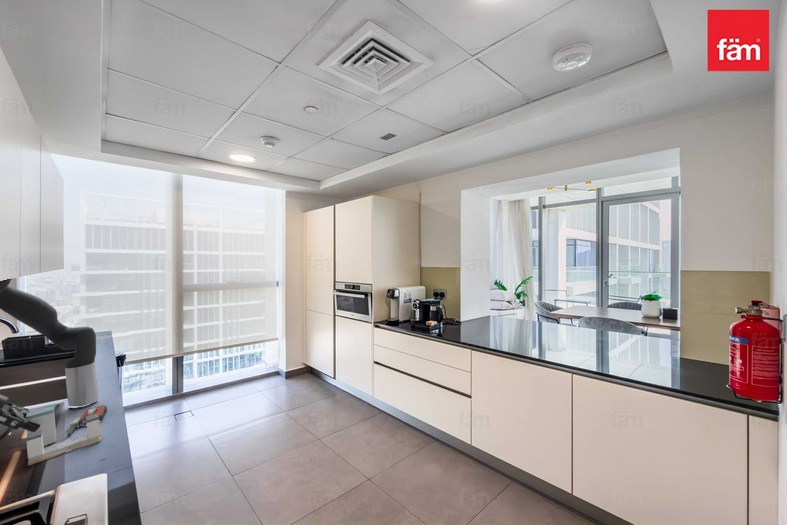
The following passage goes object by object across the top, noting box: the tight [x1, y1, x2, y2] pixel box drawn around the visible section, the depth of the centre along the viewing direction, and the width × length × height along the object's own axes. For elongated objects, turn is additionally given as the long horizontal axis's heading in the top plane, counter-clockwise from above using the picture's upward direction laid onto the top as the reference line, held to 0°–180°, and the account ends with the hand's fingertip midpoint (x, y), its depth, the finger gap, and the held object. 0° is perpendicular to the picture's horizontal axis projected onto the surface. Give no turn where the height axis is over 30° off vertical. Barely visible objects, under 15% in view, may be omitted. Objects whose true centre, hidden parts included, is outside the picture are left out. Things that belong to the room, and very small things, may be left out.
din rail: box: [28, 433, 101, 461], centre depth 103 cm, size 5×16×1 cm, turn 135°
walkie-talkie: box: [66, 404, 108, 436], centre depth 120 cm, size 9×4×20 cm
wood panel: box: [27, 435, 102, 466], centre depth 103 cm, size 7×16×1 cm, turn 135°
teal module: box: [26, 405, 57, 447], centre depth 107 cm, size 4×6×11 cm
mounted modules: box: [25, 413, 102, 460], centre depth 103 cm, size 4×16×6 cm, turn 135°
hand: (38, 424), depth 106 cm, fingers open, 8 cm apart
